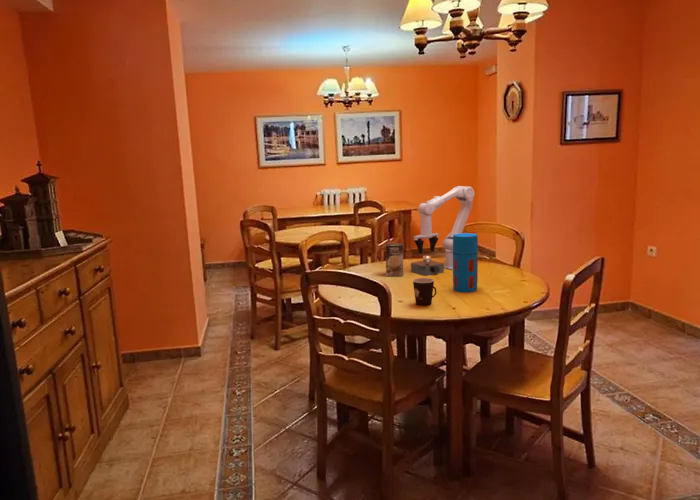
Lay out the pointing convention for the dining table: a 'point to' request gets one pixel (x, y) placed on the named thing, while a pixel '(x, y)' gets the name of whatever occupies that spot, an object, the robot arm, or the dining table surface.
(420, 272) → the grey flat box
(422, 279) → the coffee mug
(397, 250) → the coffee box
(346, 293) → the dining table surface
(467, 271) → the thermos
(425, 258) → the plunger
